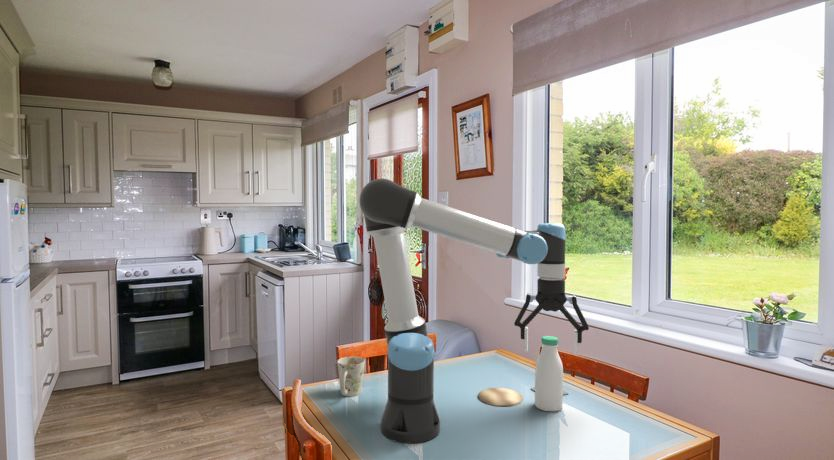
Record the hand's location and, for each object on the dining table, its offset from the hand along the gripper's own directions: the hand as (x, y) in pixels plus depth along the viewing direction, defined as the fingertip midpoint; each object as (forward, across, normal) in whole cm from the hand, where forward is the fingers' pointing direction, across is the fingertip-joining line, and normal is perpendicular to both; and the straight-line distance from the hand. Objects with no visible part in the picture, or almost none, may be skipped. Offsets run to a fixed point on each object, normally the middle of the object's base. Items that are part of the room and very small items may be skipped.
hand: (550, 352), depth 141 cm
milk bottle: (+16, 0, 0) cm, 16 cm away
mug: (+15, +58, +9) cm, 61 cm away
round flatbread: (+16, +14, -2) cm, 21 cm away
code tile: (+16, +1, -12) cm, 20 cm away
